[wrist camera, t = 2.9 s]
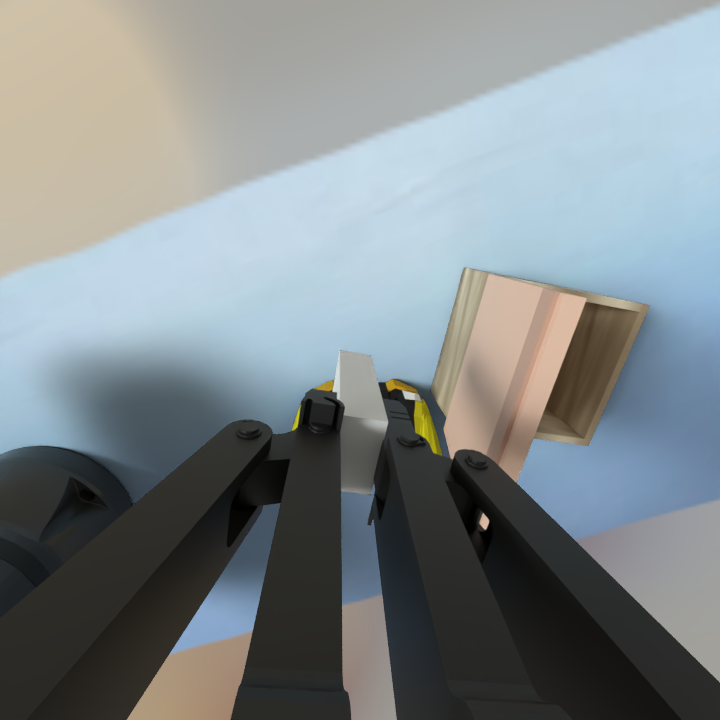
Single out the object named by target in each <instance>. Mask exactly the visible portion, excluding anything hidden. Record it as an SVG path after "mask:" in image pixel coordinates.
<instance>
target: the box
mask: <svg viewBox="0 0 720 720" xmlns="http://www.w3.org/2000/svg"><path fill="white" fill-rule="evenodd" d="M489 274H493V275H498V276H502V277H506V278H510V279H514V280H518V281H522V282H526V283H530V284H533V285H537V286H541V287H545V288H549V289H553V290H557V291H561V292H565V293H569V294H572V295H576V296H580V297H584V298H587V300H586V302H585V305H584V307H583V310H582V313H581V315H580V318H579V321H578V323H577V326H576V328H575V331H574V334H573V336H572V339H571V342H570V344H569V347H568V349H567V352H566V355H565V357H564V360H563V362H562V365H561V368H560V370H559V373H558V376H557V378H556V381H555V383H554V386H553V389H552V391H551V394H550V396H549V399H548V402H547V404H546V407H545V410H544V412H543V415H542V417H541V420H540V423H539V425H538V428H537V430H536V433H535V436H534V438H535V439H542V440H549V441H556V442H563V443H570V444H577V445H584V446H589V443H590V441H591V439H592V437H593V434H594V432H595V430H596V427H597V425H598V423H599V421H600V418H601V416H602V414H603V412H604V409H605V407H606V405H607V402H608V400H609V398H610V396H611V393H612V391H613V389H614V386H615V384H616V382H617V380H618V377H619V375H620V373H621V370H622V368H623V366H624V364H625V361H626V359H627V357H628V354H629V352H630V350H631V348H632V345H633V343H634V341H635V338H636V336H637V334H638V332H639V329H640V327H641V325H642V323H643V320H644V318H645V316H646V313H647V311H648V309H649V307H650V305H645V304H641V303H636V302H632V301H627V300H622V299H618V298H613V297H608V296H604V295H599V294H595V293H590V292H585V291H580V290H575V289H570V288H565V287H560V286H555V285H550V284H545V283H540V282H535V281H530V280H525V279H520V278H514V277H509V276H504V275H499V274H494V273H489V272H484V271H479V270H474V269H469V268H464V269H463V272H462V276H461V280H460V284H459V287H458V291H457V295H456V298H455V302H454V306H453V309H452V313H451V317H450V321H449V324H448V328H447V332H446V335H445V339H444V343H443V346H442V350H441V354H440V357H439V361H438V365H437V369H436V372H435V376H434V380H433V383H432V387H431V391H430V392H431V393H432V395H433V397H434V398H435V400H436V401H437V403H438V405H439V406H440V408H441V410H442V411H443V413H444V414H445V416H446V418H447V415H448V412H449V408H450V405H451V401H452V398H453V395H454V391H455V388H456V384H457V381H458V377H459V374H460V371H461V367H462V364H463V360H464V357H465V354H466V350H467V347H468V343H469V340H470V336H471V333H472V330H473V326H474V323H475V319H476V316H477V313H478V309H479V306H480V302H481V299H482V295H483V292H484V289H485V285H486V282H487V278H488V275H489Z"/></svg>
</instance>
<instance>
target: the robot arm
mask: <svg viewBox="0 0 720 720" xmlns="http://www.w3.org/2000/svg"><path fill="white" fill-rule="evenodd" d="M373 484H375V494H374V499H373V503H372V507H371V511H370V515H369V519H368V525H371V523H372V520H373V519H374V526H375V534H376V543H377V551H378V560H379V569H380V577H381V586H382V595H383V603H384V612H385V621H386V629H387V637H388V646H389V655H390V664H391V672H392V681H393V690H394V698H395V707H396V716H397V720H720V683H719V681H718V680H716V678H714V676H712V675H711V674H710V673H709V672H708V671H707V670H706V669H705V668H704V667H703V666H702V665H701V664H700V663H699V662H698V661H697V660H696V659H695V658H694V657H693V656H692V655H691V654H690V653H689V652H688V651H687V650H686V649H685V648H684V647H683V646H682V645H681V644H680V643H679V642H678V641H677V640H676V639H675V638H674V637H673V636H672V635H671V634H670V633H669V632H667V630H665V628H664V627H662V626H661V624H659V623H658V622H657V621H656V620H655V619H654V618H653V617H652V616H651V615H650V614H649V613H648V612H647V611H646V610H645V609H644V608H643V607H642V606H641V605H640V604H639V603H638V602H637V601H636V600H635V599H634V598H633V597H632V596H631V595H630V594H629V593H628V592H627V591H626V590H625V589H624V588H623V587H622V586H621V585H620V584H619V583H618V582H617V581H616V580H615V579H613V577H612V576H610V574H609V573H607V572H606V571H605V570H604V569H603V568H602V567H601V566H600V565H599V564H598V563H597V562H596V561H595V560H594V559H593V558H592V557H591V556H590V555H589V554H588V553H587V552H586V551H585V550H584V549H583V548H582V547H581V546H580V545H579V544H578V543H577V542H576V541H575V540H574V539H573V538H572V537H571V536H570V535H569V534H568V533H567V532H566V531H565V530H564V529H563V528H562V527H561V526H560V525H559V524H558V523H557V522H556V521H555V520H554V519H552V518H551V517H550V516H549V515H548V514H547V513H546V512H545V511H544V510H543V509H542V508H541V507H540V506H539V505H538V504H537V503H536V502H535V501H534V500H533V499H532V498H531V497H530V496H529V495H528V494H527V493H526V492H525V491H524V490H523V489H522V488H521V487H520V486H519V485H518V484H517V483H516V482H515V481H514V480H513V479H512V478H511V477H510V476H509V475H508V474H507V473H506V472H505V471H504V470H503V469H502V468H501V467H499V466H498V465H497V464H496V463H495V462H494V461H493V460H492V459H491V458H489V457H488V456H486V455H484V454H482V453H481V452H479V451H476V450H469V449H461V450H458V451H456V452H455V455H454V458H453V459H450V458H447V457H443V456H440V455H438V454H435V453H433V451H432V449H431V447H430V444H429V442H428V441H427V440H426V439H425V438H424V437H423V436H421V435H419V434H417V433H415V430H414V427H413V425H412V422H411V420H410V417H409V415H408V412H407V409H406V407H405V406H404V405H403V404H401V403H400V402H399V401H396V400H389V399H383V398H382V396H381V392H380V388H379V384H378V380H377V377H376V373H375V369H374V365H373V361H372V357H371V355H366V354H360V353H354V352H348V351H342V350H340V352H339V358H338V364H337V369H336V375H335V380H334V386H333V391H332V392H331V391H324V390H317V389H311V390H310V391H308V392H307V393H306V395H305V397H304V398H303V400H302V401H301V408H300V414H299V421H298V427H297V428H296V429H295V430H293V431H291V432H288V433H285V434H274V435H272V430H271V428H270V427H269V426H268V425H267V424H264V423H262V422H259V421H254V420H240V421H236V422H233V423H231V424H229V425H227V426H226V427H225V428H224V429H223V430H221V431H220V432H219V433H218V434H217V435H216V436H214V437H213V438H212V439H211V440H210V441H208V442H207V443H206V444H205V445H204V446H203V447H201V448H200V449H199V450H198V451H197V452H196V453H194V454H193V455H192V456H191V457H190V458H188V459H187V460H186V461H185V462H184V463H183V464H181V465H180V466H179V467H178V468H177V469H175V470H174V471H173V472H172V473H171V474H170V475H168V476H167V477H166V478H165V479H164V480H163V481H161V482H160V483H159V484H158V485H157V486H155V487H154V488H153V489H152V490H151V491H150V492H148V493H147V494H146V495H145V496H144V497H143V498H141V499H140V500H139V501H138V502H137V503H135V504H134V505H133V506H132V503H131V501H130V498H129V496H128V494H127V492H126V491H125V489H124V488H123V486H122V485H121V484H120V483H119V481H118V480H117V479H116V478H115V477H114V476H113V475H112V474H111V473H110V472H108V471H107V470H106V469H105V468H103V467H102V466H100V465H99V464H97V463H96V462H94V461H92V460H90V459H88V458H86V457H84V456H82V455H79V454H77V453H74V452H71V451H67V450H63V449H59V448H52V447H39V446H38V447H24V448H19V449H14V450H11V451H8V452H6V453H3V454H1V455H0V720H127V718H128V717H129V715H130V714H131V712H132V710H133V709H134V707H135V706H136V704H137V702H138V701H139V700H140V698H141V697H142V695H143V694H144V692H145V691H146V689H147V687H148V686H149V684H150V683H151V681H152V680H153V678H154V677H155V675H156V674H157V672H158V670H159V669H160V667H161V666H162V664H163V663H164V661H165V660H166V658H167V657H168V655H169V654H170V652H171V651H172V649H173V647H174V646H175V644H176V643H177V641H178V640H179V638H180V637H181V635H182V634H183V632H184V631H185V629H186V627H187V626H188V624H189V623H190V621H191V620H192V618H193V617H194V615H195V614H196V612H197V611H198V609H199V607H200V606H201V604H202V603H203V601H204V600H205V598H206V597H207V595H208V594H209V592H210V591H211V589H212V587H213V586H214V584H215V583H216V581H217V580H218V578H219V577H220V575H221V574H222V572H223V571H224V569H225V567H226V566H227V564H228V563H229V561H230V560H231V558H232V557H233V555H234V554H235V552H236V551H237V549H238V547H239V546H240V544H241V543H242V541H243V540H244V538H245V537H246V535H247V534H248V532H249V531H250V529H251V527H252V526H253V524H254V523H255V521H256V520H257V518H258V517H259V515H260V514H261V511H262V508H263V505H269V504H276V503H281V505H280V509H279V514H278V518H277V523H276V528H275V532H274V537H273V541H272V546H271V551H270V555H269V560H268V564H267V569H266V573H265V578H264V583H263V587H262V592H261V596H260V601H259V606H258V610H257V615H256V619H255V624H254V629H253V633H252V638H251V643H250V647H249V651H248V656H247V661H246V665H245V670H244V674H243V679H242V682H241V684H240V686H239V688H238V692H237V696H236V699H235V704H234V708H233V713H232V717H231V720H351V711H350V710H351V709H350V701H349V696H348V692H346V691H345V690H344V687H343V677H342V565H341V491H342V492H350V493H358V494H366V495H371V492H372V488H373ZM483 513H484V514H485V516H486V517H487V518H488V520H489V524H488V526H487V529H486V530H485V529H484V528H483V527H482V526H481V525H480V523H479V522H480V520H481V517H482V514H483Z"/></svg>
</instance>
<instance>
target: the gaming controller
mask: <svg viewBox="0 0 720 720" xmlns="http://www.w3.org/2000/svg"><path fill="white" fill-rule="evenodd" d="M378 384H379V388H380V392H381V396H382V398H383V399H389V400H396V401H399V402H400V403H401V404H403V405H404V406H405V407H406V409H407V412H408V415H409V417H410V420H411V422H412V425H413V427H414V430H415V433H417V434H419V435H421V436H423V437H424V438H425V439H426V440H427V441H428V442H429V444H430V447H431V449H432V451H433V453H435V454H438V455H440V456H443V455H442V451H441V448H440V444H439V441H438V437H437V433H436V430H435V427H434V424H433V421H432V418H431V415H430V412H429V409H428V406H427V404H426V403H425V401H424V399H423V398H422V396H421V395H419V394H418V392H417V390H416V389H415V388H413V387H411V386H408V385H406V384H404V383H402V382H400V381H397V380H394V379H391V380H390V381H388V382H386V383H378ZM333 386H334V381H333V380H332V381H329V382H326V383H324V384H323V385H321V386H319V387H317V388H315V389H317V390H324V391H331V392H332V391H333ZM300 408H301V404H300V406H299V409H298V412H297V415H296V417H295V420H294V423H293V426H292V430H291V431H293V430H295V429H296V428H297V427H298V421H299V414H300Z"/></svg>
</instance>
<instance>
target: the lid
mask: <svg viewBox="0 0 720 720" xmlns="http://www.w3.org/2000/svg"><path fill="white" fill-rule="evenodd" d="M586 300H587V298H584V297H580V296H576V295H572V294H569V293H565V292H561V291H557V290H553V289H549V288H545V287H541V286H537V285H533V284H530V283H526V282H522V281H518V280H514V279H510V278H506V277H502V276H498V275H493V274H489V275H488V278H487V282H486V285H485V289H484V292H483V295H482V299H481V302H480V306H479V309H478V313H477V316H476V319H475V323H474V326H473V330H472V333H471V336H470V340H469V343H468V347H467V350H466V354H465V357H464V360H463V364H462V367H461V371H460V374H459V377H458V381H457V384H456V388H455V391H454V395H453V398H452V401H451V405H450V408H449V412H448V415H447V418H446V422H445V425H444V433H445V437H446V441H447V445H448V450H449V454H450V458H451V459H453V458H454V455H455V452H456V451H458V450H461V449H469V450H476V451H479V452H481V453H482V454H484V455H486V456H488V457H489V458H491V459H492V460H493V461H494V462H495V463H496V464H497V465H498V466H499V467H501V468H502V469H503V470H504V471H505V472H506V473H507V474H508V475H509V476H510V477H511V478H512V479H513V480H514V481H515V482H516V483H517V480H518V478H519V475H520V472H521V470H522V467H523V465H524V462H525V459H526V457H527V454H528V451H529V449H530V446H531V444H532V441H533V438H534V436H535V433H536V430H537V428H538V425H539V423H540V420H541V417H542V415H543V412H544V410H545V407H546V404H547V402H548V399H549V396H550V394H551V391H552V389H553V386H554V383H555V381H556V378H557V376H558V373H559V370H560V368H561V365H562V362H563V360H564V357H565V355H566V352H567V349H568V347H569V344H570V342H571V339H572V336H573V334H574V331H575V328H576V326H577V323H578V321H579V318H580V315H581V313H582V310H583V307H584V305H585V302H586ZM479 523H480V525H481V526H482V527H483V528H484V529H485V530H486V529H487V526H488V524H489V520H488V518H487V517H486V516H485V514H484V513H483V514H482V517H481V520H480V522H479Z"/></svg>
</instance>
